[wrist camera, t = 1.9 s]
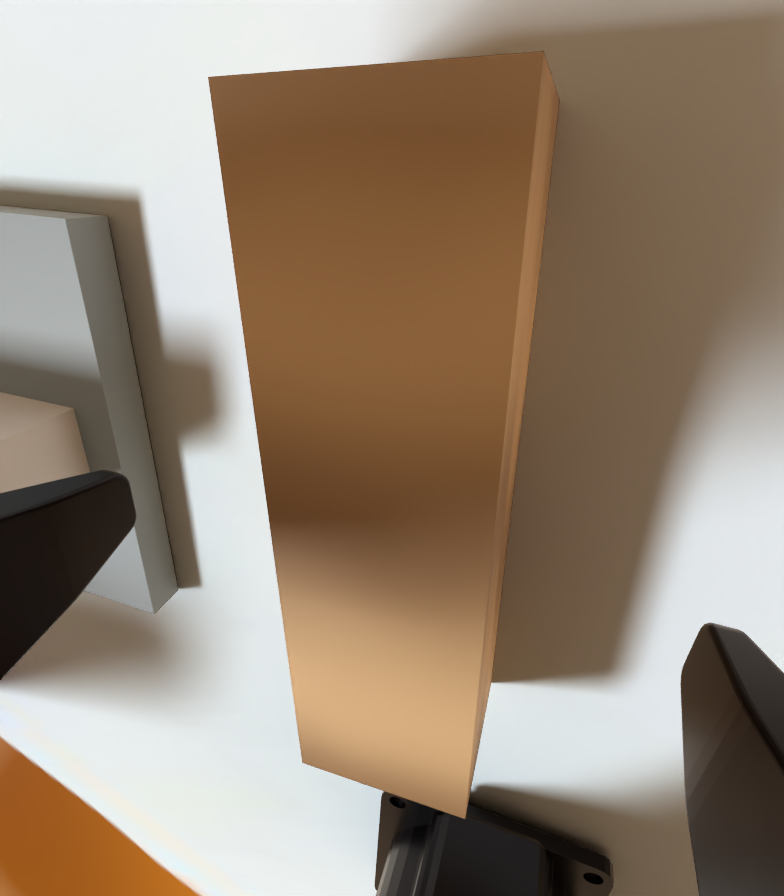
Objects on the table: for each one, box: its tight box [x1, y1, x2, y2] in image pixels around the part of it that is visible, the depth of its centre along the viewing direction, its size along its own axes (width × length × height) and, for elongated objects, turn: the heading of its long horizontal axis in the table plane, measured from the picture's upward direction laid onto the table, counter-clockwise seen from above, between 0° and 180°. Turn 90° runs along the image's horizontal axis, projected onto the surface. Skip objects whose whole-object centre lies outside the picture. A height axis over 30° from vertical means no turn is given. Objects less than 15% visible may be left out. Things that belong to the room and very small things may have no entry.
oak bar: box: [208, 51, 560, 819], centre depth 9 cm, size 12×4×4 cm, turn 0°
